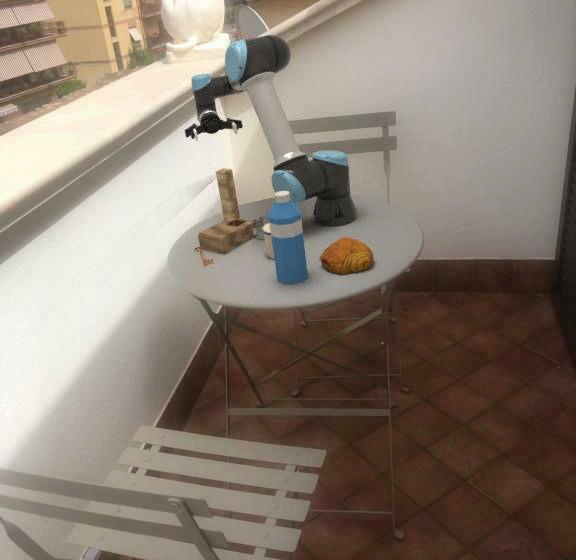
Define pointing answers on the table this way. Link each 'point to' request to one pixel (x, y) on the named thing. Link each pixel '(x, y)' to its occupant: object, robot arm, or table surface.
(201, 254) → the key
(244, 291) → the table surface
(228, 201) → the wooden key peg
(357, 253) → the croissant
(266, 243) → the teacup with lid
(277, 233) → the water bottle
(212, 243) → the wooden sliding lid box
